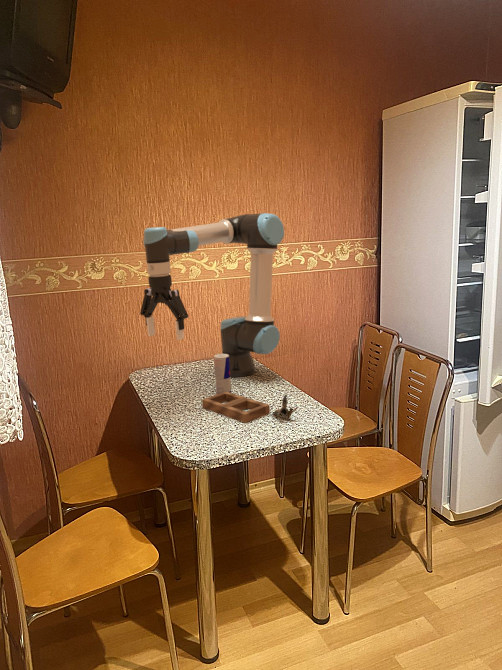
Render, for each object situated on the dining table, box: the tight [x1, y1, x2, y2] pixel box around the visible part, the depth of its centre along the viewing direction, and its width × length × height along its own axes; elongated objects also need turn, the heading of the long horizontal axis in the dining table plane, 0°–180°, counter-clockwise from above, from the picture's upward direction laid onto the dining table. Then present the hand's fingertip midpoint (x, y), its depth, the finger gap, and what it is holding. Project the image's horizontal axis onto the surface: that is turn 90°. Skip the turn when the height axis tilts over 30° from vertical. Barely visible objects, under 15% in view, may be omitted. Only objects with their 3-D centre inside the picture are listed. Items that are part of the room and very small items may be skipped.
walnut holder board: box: [201, 392, 271, 424], centre depth 189 cm, size 22×11×3 cm, turn 43°
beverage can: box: [213, 353, 232, 395], centre depth 204 cm, size 6×6×15 cm
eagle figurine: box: [272, 394, 299, 422], centre depth 181 cm, size 8×7×9 cm
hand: (165, 337), depth 188 cm, fingers open, 13 cm apart
